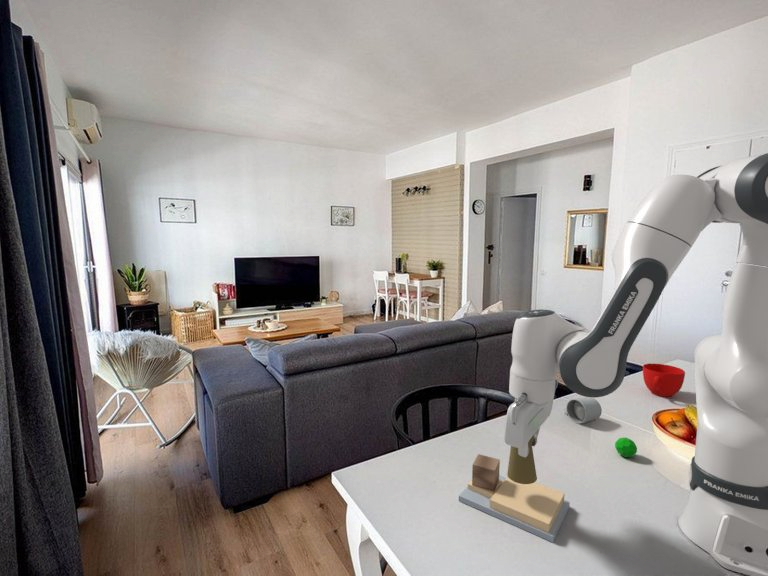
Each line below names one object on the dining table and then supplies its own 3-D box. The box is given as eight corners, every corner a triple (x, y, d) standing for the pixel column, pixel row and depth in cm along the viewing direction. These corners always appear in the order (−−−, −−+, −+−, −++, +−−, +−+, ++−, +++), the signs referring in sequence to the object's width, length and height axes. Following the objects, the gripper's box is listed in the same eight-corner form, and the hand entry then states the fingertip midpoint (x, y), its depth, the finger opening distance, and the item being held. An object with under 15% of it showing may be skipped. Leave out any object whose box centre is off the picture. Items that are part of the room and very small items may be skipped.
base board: (569, 506, 85) (569, 493, 84) (552, 542, 75) (553, 528, 74) (482, 473, 97) (483, 462, 97) (458, 500, 87) (458, 488, 86)
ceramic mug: (603, 422, 125) (604, 399, 124) (585, 427, 121) (586, 403, 120) (574, 410, 134) (575, 388, 133) (557, 414, 131) (558, 392, 130)
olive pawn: (539, 485, 80) (539, 433, 79) (509, 483, 81) (508, 432, 80) (533, 469, 86) (533, 421, 85) (505, 467, 87) (504, 420, 86)
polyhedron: (636, 454, 106) (637, 437, 105) (636, 462, 102) (637, 445, 101) (615, 449, 109) (616, 432, 108) (614, 457, 104) (615, 440, 104)
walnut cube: (499, 479, 91) (499, 459, 90) (494, 491, 86) (495, 470, 86) (477, 473, 93) (478, 454, 92) (472, 485, 88) (472, 464, 88)
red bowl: (633, 396, 146) (635, 370, 145) (646, 385, 157) (648, 361, 156) (675, 407, 136) (678, 379, 135) (686, 394, 148) (688, 368, 146)
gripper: (531, 407, 71) (526, 478, 72) (560, 377, 87) (556, 436, 89) (497, 398, 75) (494, 465, 76) (531, 371, 91) (528, 427, 92)
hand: (527, 449), depth 83 cm, fingers closed on olive pawn, 4 cm apart
